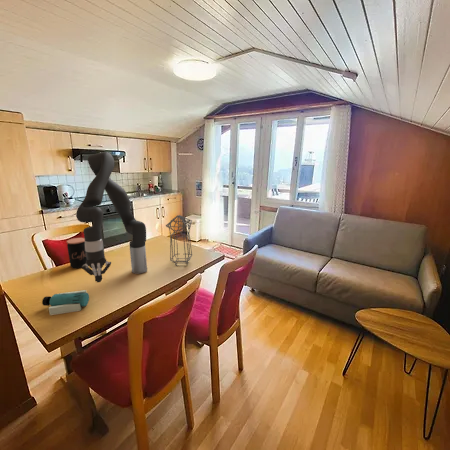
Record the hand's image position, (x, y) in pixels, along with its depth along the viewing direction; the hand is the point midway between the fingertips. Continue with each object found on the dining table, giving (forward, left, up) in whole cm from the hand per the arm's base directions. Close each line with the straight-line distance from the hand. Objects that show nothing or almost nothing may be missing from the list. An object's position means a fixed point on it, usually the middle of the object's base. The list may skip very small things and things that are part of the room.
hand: (99, 281), depth 112 cm
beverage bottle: (+4, +4, -7) cm, 9 cm away
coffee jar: (+21, -49, -11) cm, 54 cm away
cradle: (+14, 0, -10) cm, 17 cm away
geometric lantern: (-44, -34, -11) cm, 57 cm away
